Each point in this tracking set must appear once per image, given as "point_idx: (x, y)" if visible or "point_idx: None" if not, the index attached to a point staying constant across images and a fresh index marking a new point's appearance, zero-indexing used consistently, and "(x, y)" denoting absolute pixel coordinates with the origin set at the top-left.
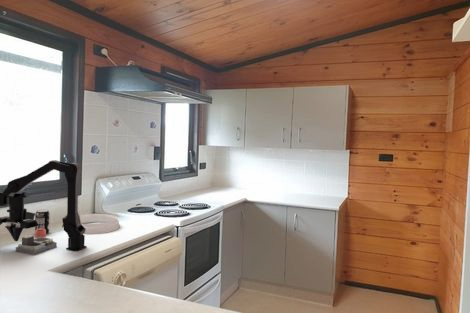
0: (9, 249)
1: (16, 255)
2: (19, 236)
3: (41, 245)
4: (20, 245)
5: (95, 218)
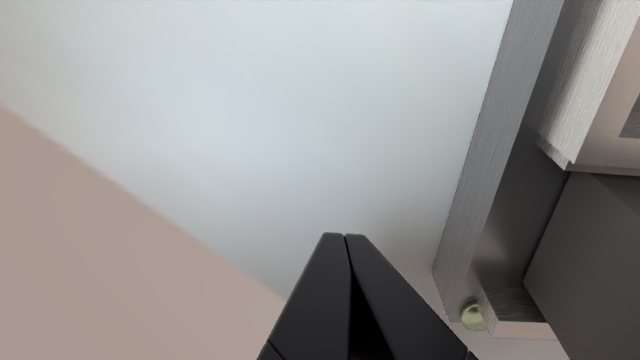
0: (270, 226)
1: (522, 347)
2: (418, 299)
3: None
4: (534, 329)
5: None
